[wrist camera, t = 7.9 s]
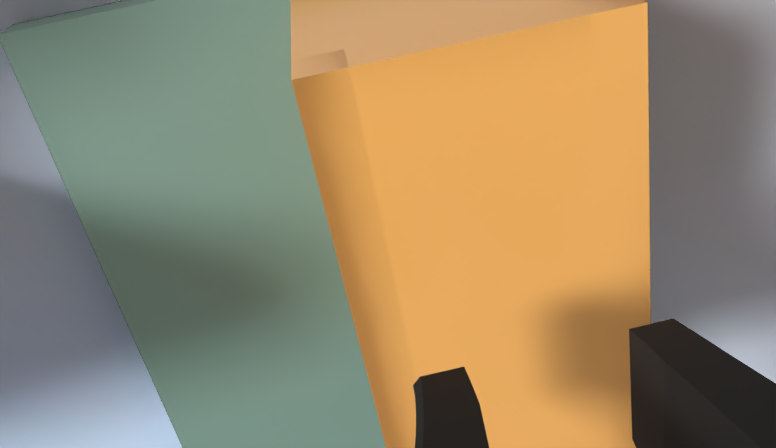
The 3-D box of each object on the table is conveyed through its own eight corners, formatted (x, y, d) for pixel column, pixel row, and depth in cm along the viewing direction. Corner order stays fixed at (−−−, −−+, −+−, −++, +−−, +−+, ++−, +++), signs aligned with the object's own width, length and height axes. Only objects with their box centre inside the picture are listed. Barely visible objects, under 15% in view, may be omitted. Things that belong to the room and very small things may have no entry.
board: (621, 508, 25) (634, 534, 24) (260, 592, 25) (259, 622, 24) (596, -102, 16) (616, -99, 15) (13, 24, 16) (-5, 36, 15)
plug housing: (560, 379, 21) (653, 559, 16) (392, 417, 21) (428, 611, 15) (522, -53, 15) (647, 1, 10) (290, -3, 15) (290, 79, 10)
